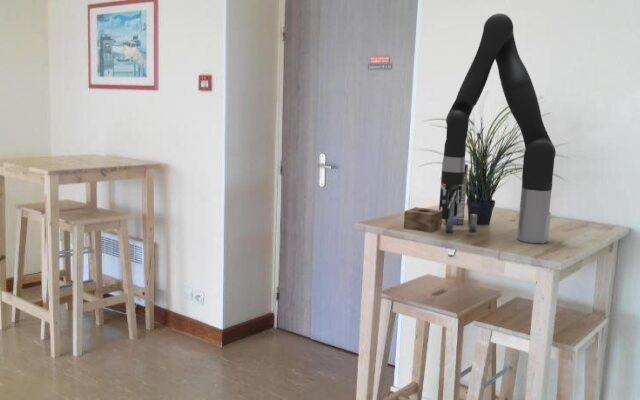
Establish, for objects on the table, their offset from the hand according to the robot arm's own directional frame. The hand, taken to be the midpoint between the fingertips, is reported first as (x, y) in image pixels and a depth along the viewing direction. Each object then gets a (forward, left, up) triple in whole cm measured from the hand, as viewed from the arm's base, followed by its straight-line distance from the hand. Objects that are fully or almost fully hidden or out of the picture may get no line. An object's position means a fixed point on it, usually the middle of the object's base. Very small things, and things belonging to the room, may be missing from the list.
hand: (449, 217), depth 211 cm
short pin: (-6, -7, -5) cm, 11 cm away
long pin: (0, 0, -5) cm, 5 cm away
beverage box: (+6, -18, -5) cm, 20 cm away
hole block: (+10, -1, -5) cm, 11 cm away
